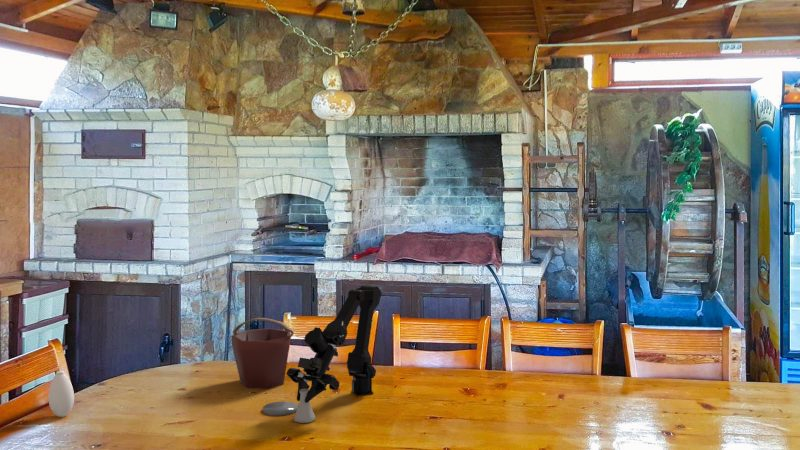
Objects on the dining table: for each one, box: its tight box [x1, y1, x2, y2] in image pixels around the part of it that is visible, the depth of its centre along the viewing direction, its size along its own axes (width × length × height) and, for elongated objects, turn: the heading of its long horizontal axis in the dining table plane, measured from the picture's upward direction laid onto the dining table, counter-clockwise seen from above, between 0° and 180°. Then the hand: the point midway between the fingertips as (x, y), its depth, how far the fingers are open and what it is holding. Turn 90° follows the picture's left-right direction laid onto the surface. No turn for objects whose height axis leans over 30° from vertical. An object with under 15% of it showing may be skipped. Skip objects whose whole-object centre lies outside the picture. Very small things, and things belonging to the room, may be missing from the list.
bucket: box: [231, 317, 294, 390], centre depth 288 cm, size 24×22×25 cm
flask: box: [293, 388, 316, 424], centre depth 247 cm, size 7×7×10 cm
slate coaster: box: [262, 401, 299, 417], centre depth 257 cm, size 12×12×1 cm
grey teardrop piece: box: [48, 363, 75, 418], centre depth 252 cm, size 8×8×18 cm
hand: (301, 401), depth 245 cm, fingers closed on flask, 3 cm apart
